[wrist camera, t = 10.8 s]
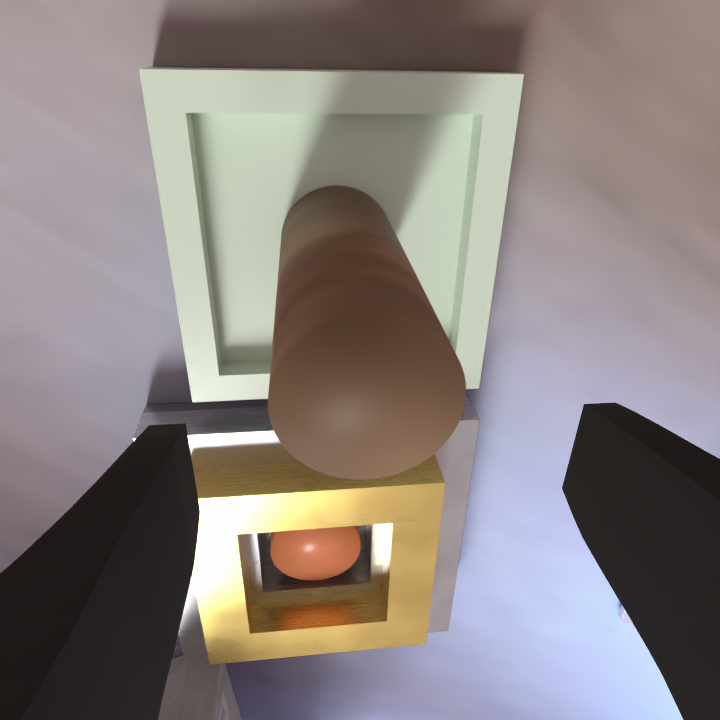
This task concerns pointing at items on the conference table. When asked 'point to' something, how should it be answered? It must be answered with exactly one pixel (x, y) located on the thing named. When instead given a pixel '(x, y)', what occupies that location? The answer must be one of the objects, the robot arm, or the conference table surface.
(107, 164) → the conference table surface
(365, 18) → the conference table surface
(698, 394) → the conference table surface
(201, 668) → the geiger counter
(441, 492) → the panel
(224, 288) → the tray
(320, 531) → the button
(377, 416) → the dowel
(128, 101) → the conference table surface
